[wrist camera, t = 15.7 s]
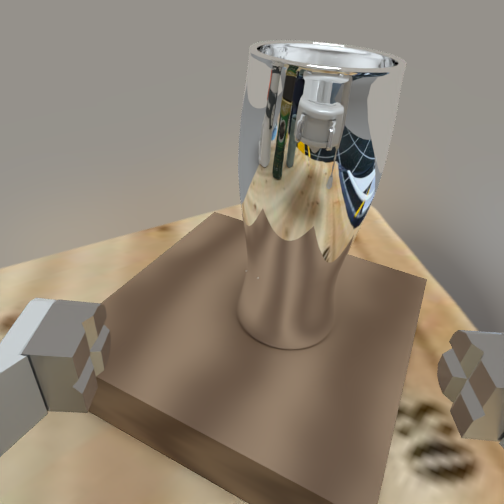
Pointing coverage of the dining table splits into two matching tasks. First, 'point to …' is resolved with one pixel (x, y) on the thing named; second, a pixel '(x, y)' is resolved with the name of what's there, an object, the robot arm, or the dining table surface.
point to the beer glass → (308, 177)
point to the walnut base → (258, 375)
